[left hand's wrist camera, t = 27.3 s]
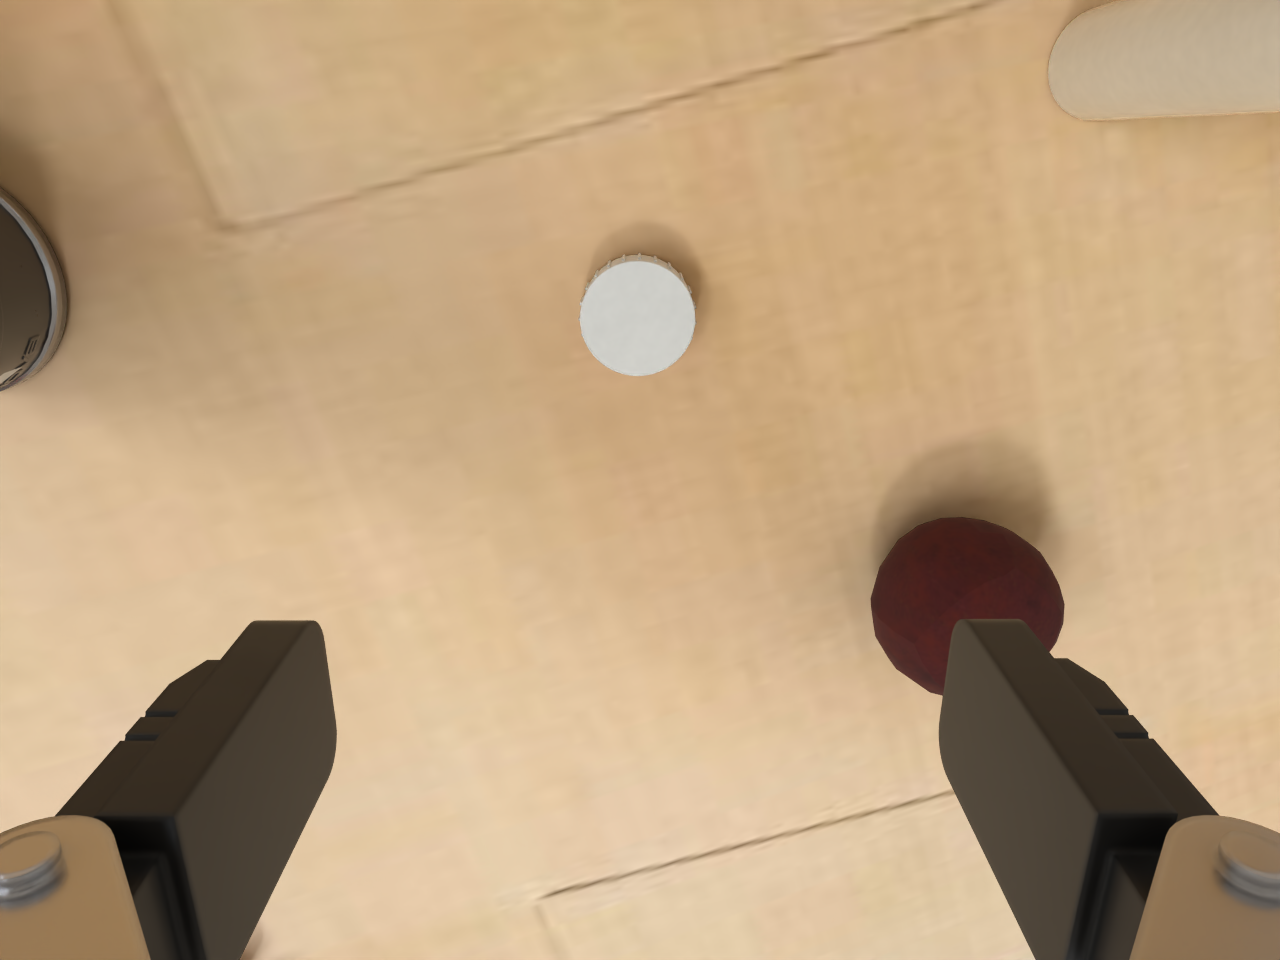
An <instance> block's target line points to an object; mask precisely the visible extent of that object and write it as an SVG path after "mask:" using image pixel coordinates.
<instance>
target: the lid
mask: <svg viewBox="0 0 1280 960" xmlns="http://www.w3.org/2000/svg"><path fill="white" fill-rule="evenodd" d="M585 290H586V293H585V295H584V297H583V296H582V299H581V302H580V305H581V311H580V316H579V321H580V326H581V331H582V334H581V335H582V337H583V338H584V341H585V343H586V345H587V347H588V349H589V350H590V351H591V353H592V354H593V355H594V357H595V358H596V359H597V360H598V361H599V362H601V363H602V364H603V365H604V366H606V367H608V368H609V369H611V370H613V371H615V372H618V373H621V374H625V375H630V376H645V375H650V374H654V373H657V372H660V371H662V370H664V369H666V368H668V367H669V366H671V365H672V364H674V363H675V362H676V361H677V360H678V359H679V358H680V357H681V356H682V355H683V354H684V352H685V350H686V349H687V347H688V346H689V344H690V341H691V340H692V338H693V337H692V336H693V333H694V328H695V325H696V319H695V309H696V305H695V302H694V300H692V298H691V295H690V294H691V293H692V292H691V289H690V286H689V285H688V286H687V285H686V283H685V281H684V279H683V276H682V273H681V272H680V273H678V272H677V271H676V270H675V269H674V268H673V267H672V266H671V263H669V262H668V263H666V262H664V261H662V260H660V259H658V258H657V257H656V256H655V255H654V257H652V256H646V255H641V253H638V255H628V256H625V254H624V255H623V256H622V257H621V258H618V259H615V260H613V261H611V260H609V261H608V264H607V265H605V266H604V267H602V268H601V269H600V270H597V271H596V273H595V275H594V277H593V279H592V280H591V282H590V283H589V282H588V283H587V285H586V288H585Z"/></svg>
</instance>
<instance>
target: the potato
mask: <svg viewBox="0 0 1280 960" xmlns="http://www.w3.org/2000/svg"><path fill="white" fill-rule="evenodd" d="M871 609H872V616H873V623H874V630H875V636H876V638H877V640H878V641H879V643H880V645H881V646H882V648H883V650H884V651H885V653H886V655H887V656H888V658H889V659H890V661H891V662H892V664H893V665H894V666H895V668H896V669H897V670H899V671H900V672H901V673H903V674H904V675H906V676H907V677H909V678H910V679H912V680H913V681H914V682H916V683H917V684H919V685H920V686H922V687H923V688H925V689H926V690H927V691H929V692H931V693H935V694H939V695H943V692H944V685H945V678H946V671H947V664H948V656H949V649H950V642H951V636H952V632H953V628H954V626H955V624H956V623H957V621H959V620H960V619H1020V620H1022V621H1024V622H1025V623H1026V624H1027V625H1028V626H1029V628H1030V629H1031V630H1032V631H1033V633H1034V634H1035V635H1036V636H1037V638H1038V639H1039V640H1040V641H1041V643H1042V644H1043V645H1044V646H1045V648H1046V649H1047V650H1048V651H1049V652H1050V650H1051V649H1052V648H1053V646H1054V645H1055V643H1056V641H1057V639H1058V636H1059V633H1060V631H1061V628H1062V625H1063V618H1064V601H1063V597H1062V594H1061V590H1060V586H1059V584H1058V582H1057V580H1056V578H1055V576H1054V574H1053V572H1052V570H1051V568H1050V567H1049V565H1048V564H1047V562H1046V561H1045V559H1044V557H1043V556H1042V554H1041V553H1040V552H1039V551H1038V550H1037V549H1035V548H1034V547H1033V546H1032V545H1031V544H1029V543H1028V542H1026V541H1025V540H1024V539H1022V538H1021V537H1019V536H1018V535H1016V534H1015V533H1014V532H1012V531H1010V530H1008V529H1006V528H1004V527H1001V526H998V525H995V524H993V523H990V522H987V521H984V520H977V519H970V518H963V517H958V518H940V519H937V520H934V521H931V522H927V523H924V524H921V525H918V526H917V527H916V528H914V529H913V530H911V531H910V532H909V533H907V534H906V535H905V536H903V537H902V538H900V539H899V540H898V541H897V543H896V544H895V546H894V547H893V548H892V550H891V551H890V553H889V554H888V556H887V557H886V559H885V560H884V562H883V563H882V565H881V566H880V568H879V571H878V575H877V578H876V582H875V585H874V589H873V592H872V596H871Z"/></svg>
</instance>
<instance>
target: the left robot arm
mask: <svg viewBox="0 0 1280 960" xmlns="http://www.w3.org/2000/svg"><path fill="white" fill-rule="evenodd" d="M66 315H67V296H66V288H65V282H64V278H63V274H62V271H61V268H60V265H59V262H58V259H57V257H56V255H55V253H54V250H53V248H52V246H51V245H50V243H49V241H48V239H47V237H46V236H45V234H44V233H43V231H42V230H41V228H40V227H39V225H38V224H37V223H36V221H35V220H34V219H33V218H32V216H31V215H30V214H29V213H28V212H27V211H26V210H25V209H24V208H23V206H21V205H20V204H19V203H18V202H17V201H16V200H15V199H14V198H13V197H12V196H11V195H9V194H8V193H7V192H6V191H4V190H3V189H2V188H0V391H2V390H5V389H8V388H10V387H13V386H15V385H18V384H20V383H22V382H24V381H26V380H27V379H29V378H30V377H32V376H34V375H35V374H36V373H37V372H38V371H40V370H41V369H42V368H43V367H44V366H45V365H46V364H47V363H48V361H49V360H50V358H51V357H52V356H53V354H54V353H55V351H56V349H57V347H58V345H59V343H60V340H61V338H62V335H63V331H64V328H65V322H66ZM125 736H126V737H125V741H120V742H119V743H118V744H117V745H116V746H115V747H114V749H113V750H112V751H111V752H110V753H109V754H108V755H107V757H106V758H105V759H104V760H103V761H102V762H101V764H100V765H99V766H98V767H97V768H96V769H95V770H94V772H93V773H92V774H91V775H90V776H89V777H88V779H87V780H86V781H85V782H84V783H83V784H82V785H81V787H80V788H79V789H78V790H77V791H76V792H75V794H74V795H73V796H72V797H71V798H70V799H69V800H68V802H67V803H66V804H65V805H64V806H63V807H62V808H61V810H60V811H59V812H58V813H57V814H56V815H55V817H48V818H44V819H40V820H35V821H32V822H29V823H25V824H22V825H19V826H17V827H14V828H12V829H9V830H7V831H4V832H2V833H0V960H240V958H241V956H242V954H243V952H244V949H245V947H246V945H247V943H248V941H249V939H250V937H251V935H252V933H253V931H254V929H255V927H256V925H257V923H258V921H259V919H260V917H261V915H262V913H263V911H264V909H265V907H266V905H267V903H268V900H269V898H270V896H271V894H272V892H273V890H274V888H275V886H276V884H277V882H278V880H279V878H280V876H281V874H282V872H283V870H284V868H285V866H286V864H287V862H288V860H289V858H290V856H291V853H292V851H293V849H294V847H295V845H296V843H297V841H298V839H299V837H300V835H301V833H302V831H303V829H304V827H305V825H306V823H307V821H308V819H309V817H310V815H311V813H312V811H313V809H314V807H315V804H316V802H317V800H318V798H319V796H320V794H321V792H322V790H323V788H324V786H325V784H326V782H327V780H328V778H329V775H330V773H331V770H332V766H333V762H334V757H335V751H336V739H337V730H336V720H335V713H334V706H333V698H332V691H331V684H330V677H329V670H328V663H327V656H326V649H325V642H324V636H323V632H322V629H321V627H320V625H319V624H318V623H317V622H316V621H253V622H252V623H250V624H249V625H248V626H247V628H246V629H245V630H244V631H243V632H242V634H241V635H240V636H239V637H238V639H237V640H236V641H235V642H234V644H233V645H232V646H231V647H230V649H229V650H228V651H227V652H226V653H225V655H224V656H223V657H222V658H221V660H206V661H205V662H203V663H202V664H200V665H199V666H197V667H195V668H194V669H192V670H191V671H189V672H188V673H186V674H184V675H183V676H181V677H180V678H178V679H176V680H175V681H173V682H172V683H170V684H169V685H168V686H167V687H166V689H165V690H164V691H163V692H162V693H161V694H160V696H159V697H158V698H157V699H156V700H155V701H154V702H153V704H152V705H151V706H150V707H149V708H148V709H147V711H146V715H145V717H140V719H139V720H138V721H137V722H136V723H135V724H134V726H133V727H132V728H131V729H130V730H129V731H128V732H127V734H126V735H125ZM939 746H940V753H941V759H942V763H943V767H944V770H945V773H946V775H947V777H948V780H949V782H950V784H951V786H952V788H953V790H954V792H955V794H956V796H957V798H958V800H959V802H960V804H961V806H962V808H963V811H964V813H965V815H966V817H967V819H968V821H969V823H970V825H971V827H972V829H973V831H974V833H975V835H976V837H977V839H978V842H979V844H980V846H981V848H982V850H983V852H984V854H985V856H986V858H987V860H988V862H989V864H990V866H991V868H992V871H993V873H994V875H995V877H996V879H997V881H998V883H999V885H1000V887H1001V889H1002V891H1003V893H1004V895H1005V897H1006V899H1007V902H1008V904H1009V906H1010V908H1011V910H1012V912H1013V914H1014V916H1015V918H1016V920H1017V922H1018V924H1019V926H1020V928H1021V930H1022V933H1023V935H1024V937H1025V939H1026V941H1027V943H1028V945H1029V947H1030V949H1031V951H1032V953H1033V955H1034V957H1035V959H1036V960H1280V833H1278V832H1276V831H1273V830H1271V829H1268V828H1266V827H1263V826H1261V825H1258V824H1255V823H1251V822H1248V821H1245V820H1240V819H1236V818H1232V817H1225V816H1219V815H1218V813H1217V812H1216V811H1215V810H1214V809H1213V808H1212V806H1211V805H1210V804H1209V803H1208V802H1207V801H1206V799H1205V798H1204V797H1203V796H1202V795H1201V794H1200V792H1199V791H1198V790H1197V789H1196V788H1195V787H1194V785H1193V784H1192V783H1191V782H1190V781H1189V780H1188V778H1187V777H1186V776H1185V775H1184V774H1183V773H1182V772H1181V770H1180V769H1179V768H1178V767H1177V766H1176V765H1175V763H1174V762H1173V761H1172V760H1171V759H1170V758H1169V756H1168V755H1167V754H1166V753H1165V752H1164V751H1163V749H1162V748H1161V747H1160V746H1159V745H1158V744H1157V742H1156V741H1155V740H1154V739H1149V737H1148V732H1147V731H1146V730H1145V728H1144V727H1143V726H1142V725H1141V724H1140V723H1139V721H1138V720H1137V719H1136V718H1135V717H1134V716H1133V715H1129V714H1128V709H1127V708H1126V706H1125V705H1124V704H1123V703H1122V702H1121V701H1120V699H1119V698H1118V697H1117V696H1116V695H1115V694H1114V692H1113V691H1112V690H1111V689H1110V688H1109V687H1108V685H1107V684H1106V683H1105V682H1104V681H1102V680H1101V679H1099V678H1097V677H1096V676H1094V675H1093V674H1091V673H1090V672H1088V671H1086V670H1085V669H1083V668H1082V667H1080V666H1079V665H1077V664H1075V663H1074V662H1072V661H1071V660H1069V659H1068V658H1053V656H1052V655H1051V654H1050V653H1049V651H1048V650H1047V649H1046V648H1045V646H1044V645H1043V644H1042V643H1041V641H1040V640H1039V639H1038V638H1037V636H1036V635H1035V634H1034V633H1033V631H1032V630H1031V629H1030V628H1029V626H1028V625H1027V624H1026V623H1025V622H1024V621H1022V620H1020V619H960V620H959V621H957V623H956V624H955V626H954V628H953V632H952V636H951V642H950V649H949V656H948V664H947V671H946V678H945V685H944V692H943V700H942V707H941V714H940V722H939Z"/></svg>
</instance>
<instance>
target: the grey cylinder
mask: <svg viewBox="0 0 1280 960" xmlns="http://www.w3.org/2000/svg"><path fill="white" fill-rule="evenodd" d="M1048 80H1049V86H1050V90H1051V92H1052V95H1053V97H1054V99H1055V101H1056V102H1057V104H1058V105H1059V106H1060V107H1061V108H1062V109H1063V110H1064V111H1065V112H1066V113H1068V114H1069V115H1071V116H1073V117H1075V118H1078V119H1081V120H1087V121H1102V120H1124V119H1146V118H1168V117H1190V116H1212V115H1234V114H1256V113H1278V112H1280V0H1118V1H1114V2H1111V3H1107V4H1104V5H1101V6H1097V7H1094V8H1091V9H1089V10H1087V11H1085V12H1083V13H1082V14H1080V15H1079V16H1077V17H1076V18H1075V19H1073V20H1072V21H1071V22H1070V23H1069V24H1068V25H1067V26H1066V27H1065V29H1064V30H1063V31H1062V32H1061V34H1060V36H1059V37H1058V39H1057V41H1056V43H1055V45H1054V47H1053V49H1052V52H1051V56H1050V60H1049V66H1048Z"/></svg>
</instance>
